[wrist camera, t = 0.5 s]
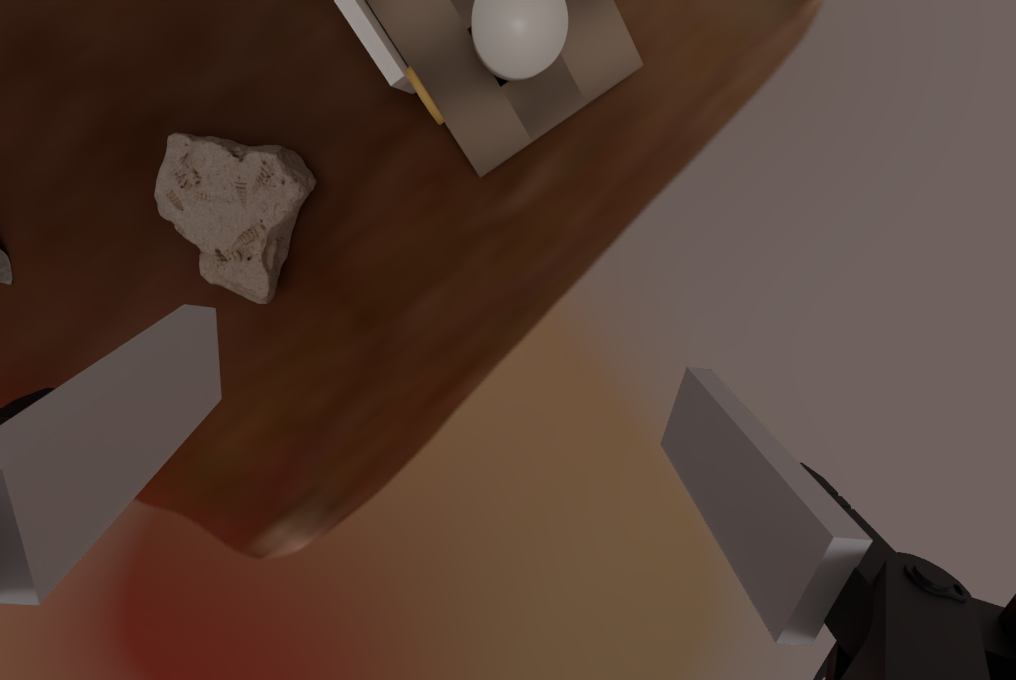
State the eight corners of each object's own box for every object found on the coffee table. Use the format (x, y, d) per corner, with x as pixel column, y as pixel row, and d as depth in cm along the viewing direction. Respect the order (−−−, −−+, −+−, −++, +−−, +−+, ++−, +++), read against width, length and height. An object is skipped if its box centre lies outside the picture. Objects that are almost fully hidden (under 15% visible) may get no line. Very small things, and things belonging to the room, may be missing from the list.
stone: (333, 165, 35) (312, 172, 31) (279, 305, 39) (253, 329, 34) (201, 97, 33) (157, 94, 28) (158, 251, 37) (113, 270, 32)
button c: (455, 24, 30) (452, 5, 25) (524, -27, 29) (536, -60, 24) (500, 100, 32) (505, 97, 26) (565, 53, 31) (585, 40, 26)
